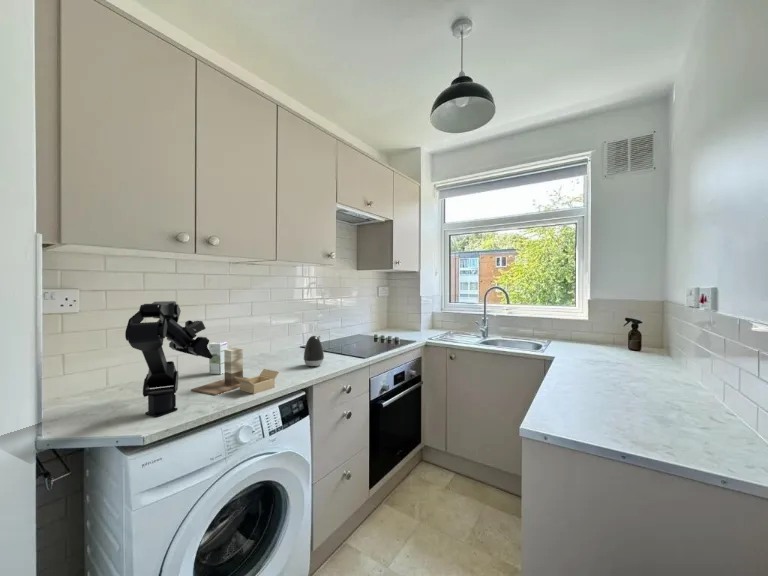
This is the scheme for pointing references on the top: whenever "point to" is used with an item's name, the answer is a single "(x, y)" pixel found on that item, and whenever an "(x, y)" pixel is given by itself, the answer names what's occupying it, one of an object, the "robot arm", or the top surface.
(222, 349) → the syrup box
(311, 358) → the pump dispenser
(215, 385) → the walnut board
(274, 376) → the carton
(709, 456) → the top surface
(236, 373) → the tall box
